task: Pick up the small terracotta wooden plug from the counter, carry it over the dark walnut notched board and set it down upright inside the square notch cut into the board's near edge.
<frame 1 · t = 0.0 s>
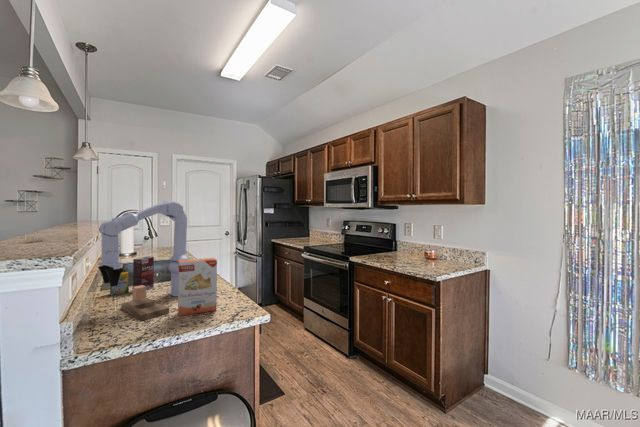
hand: (110, 284, 121), 10 cm above the counter, tool pointing down, fingers open, 7 cm apart
cracker box: (197, 312, 119), on the counter
notched board: (144, 310, 120), on the counter
supplement box: (143, 290, 149), on the counter
crayon box: (119, 293, 142), on the counter
terracotta plug: (139, 300, 133), on the counter
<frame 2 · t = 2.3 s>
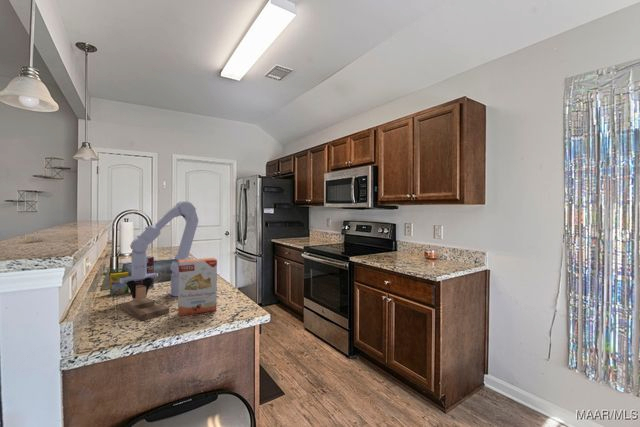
hand: (139, 296, 133), 2 cm above the counter, tool pointing down, fingers closed on terracotta plug, 4 cm apart
terracotta plug: (139, 300, 133), on the counter, touching gripper
everything else where it was.
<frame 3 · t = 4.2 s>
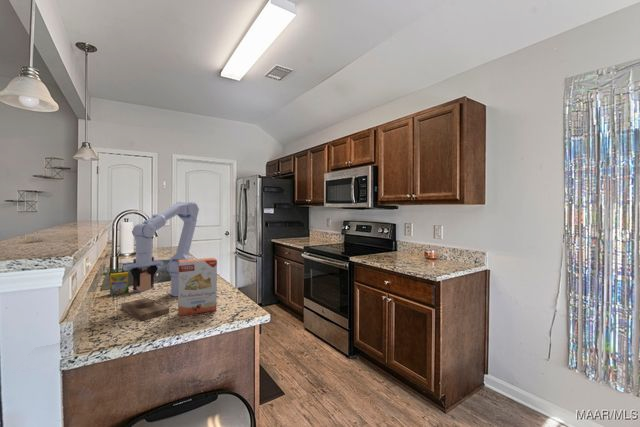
hand: (144, 285, 124), 9 cm above the counter, tool pointing down, fingers closed on terracotta plug, 4 cm apart
terracotta plug: (143, 289, 125), point 7 cm above the counter, touching gripper
everything else where it was.
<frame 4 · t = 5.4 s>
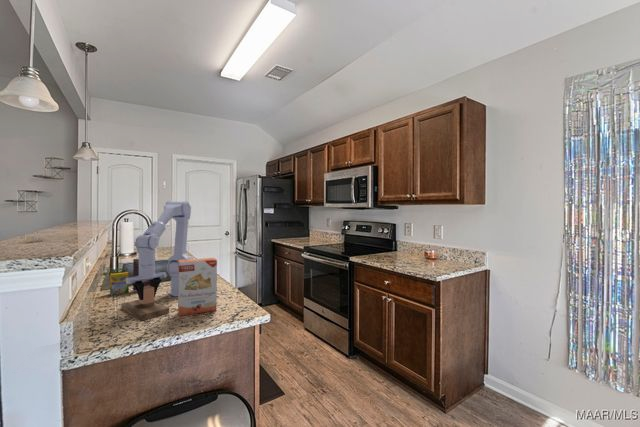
hand: (147, 298, 120), 5 cm above the counter, tool pointing down, fingers closed on terracotta plug, 4 cm apart
terracotta plug: (146, 302, 120), point 3 cm above the counter, touching gripper
everything else where it was.
when the fingers open (3 cm above the counter, at t = 6.2 s): terracotta plug drops 1 cm, on the counter.
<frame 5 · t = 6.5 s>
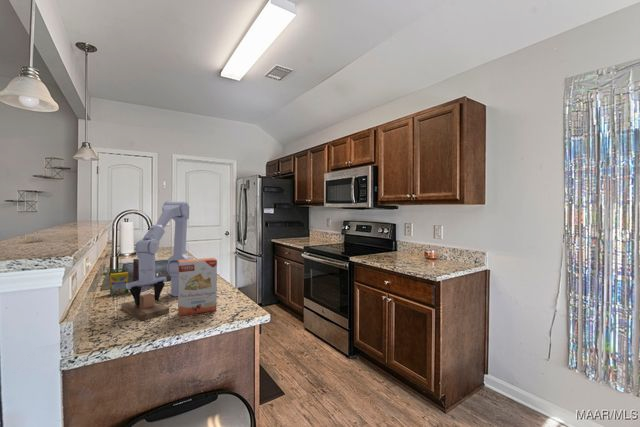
hand: (147, 302, 120), 3 cm above the counter, tool pointing down, fingers open, 7 cm apart
terracotta plug: (146, 309, 121), on the counter
everything else where it was.
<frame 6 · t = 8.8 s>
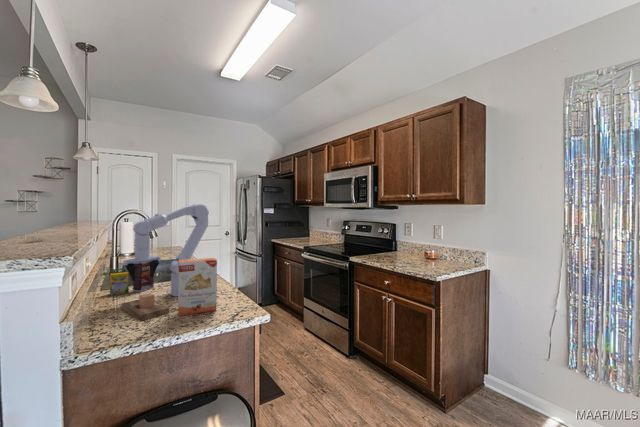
hand: (142, 278, 132), 9 cm above the counter, tool pointing down, fingers open, 7 cm apart
nothing on the counter moved.
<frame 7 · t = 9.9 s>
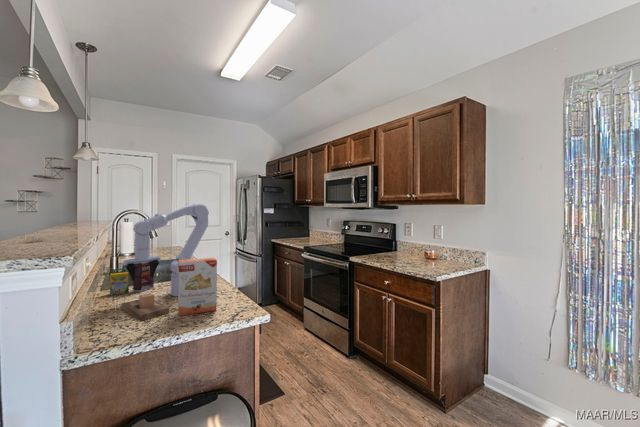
hand: (142, 278, 133), 9 cm above the counter, tool pointing down, fingers open, 7 cm apart
nothing on the counter moved.
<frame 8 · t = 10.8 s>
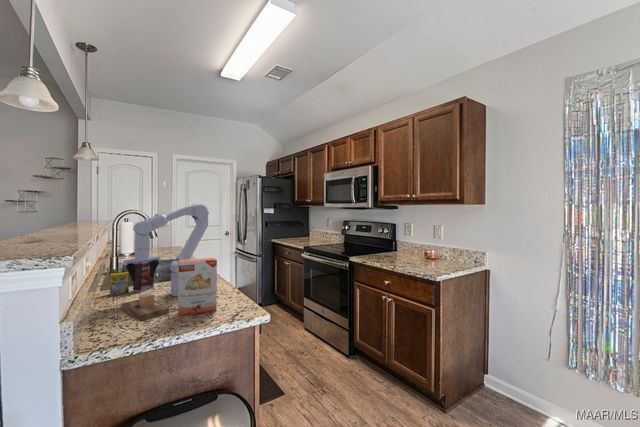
hand: (142, 278, 133), 9 cm above the counter, tool pointing down, fingers open, 7 cm apart
nothing on the counter moved.
at the end: terracotta plug 0.4 cm from the target spot on the notched board, point 0.0 cm above the notched board's base; terracotta plug tilted 0°; the gripper is holding nothing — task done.
